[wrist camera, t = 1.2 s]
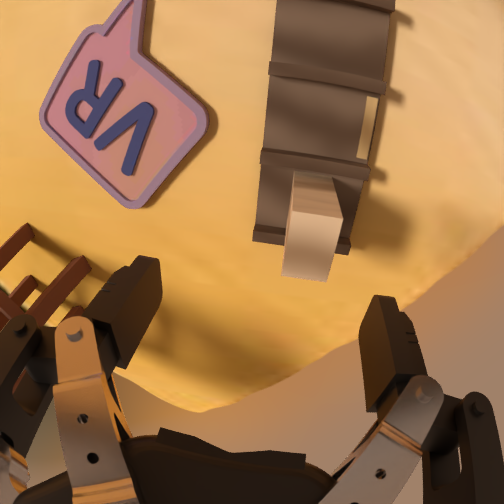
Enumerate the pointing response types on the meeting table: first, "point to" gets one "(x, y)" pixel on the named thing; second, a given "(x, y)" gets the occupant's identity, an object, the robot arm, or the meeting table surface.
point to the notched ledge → (321, 105)
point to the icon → (121, 109)
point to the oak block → (311, 227)
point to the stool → (8, 307)
